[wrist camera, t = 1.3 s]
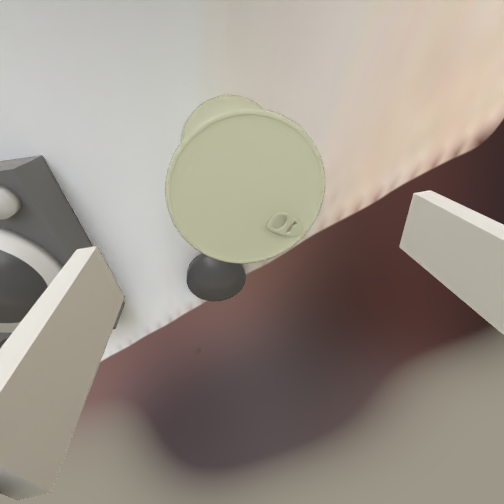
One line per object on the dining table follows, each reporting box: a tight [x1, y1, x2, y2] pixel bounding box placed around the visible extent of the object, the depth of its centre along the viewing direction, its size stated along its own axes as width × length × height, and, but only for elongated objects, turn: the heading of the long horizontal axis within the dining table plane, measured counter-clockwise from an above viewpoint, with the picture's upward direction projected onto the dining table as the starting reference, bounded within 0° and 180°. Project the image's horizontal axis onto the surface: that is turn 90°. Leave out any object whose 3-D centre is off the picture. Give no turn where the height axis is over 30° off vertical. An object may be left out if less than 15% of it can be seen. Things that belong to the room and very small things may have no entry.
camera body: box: [0, 156, 124, 342], centre depth 24 cm, size 18×14×5 cm
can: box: [165, 95, 325, 263], centre depth 19 cm, size 9×9×12 cm
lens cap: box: [187, 253, 245, 301], centre depth 31 cm, size 7×7×2 cm
